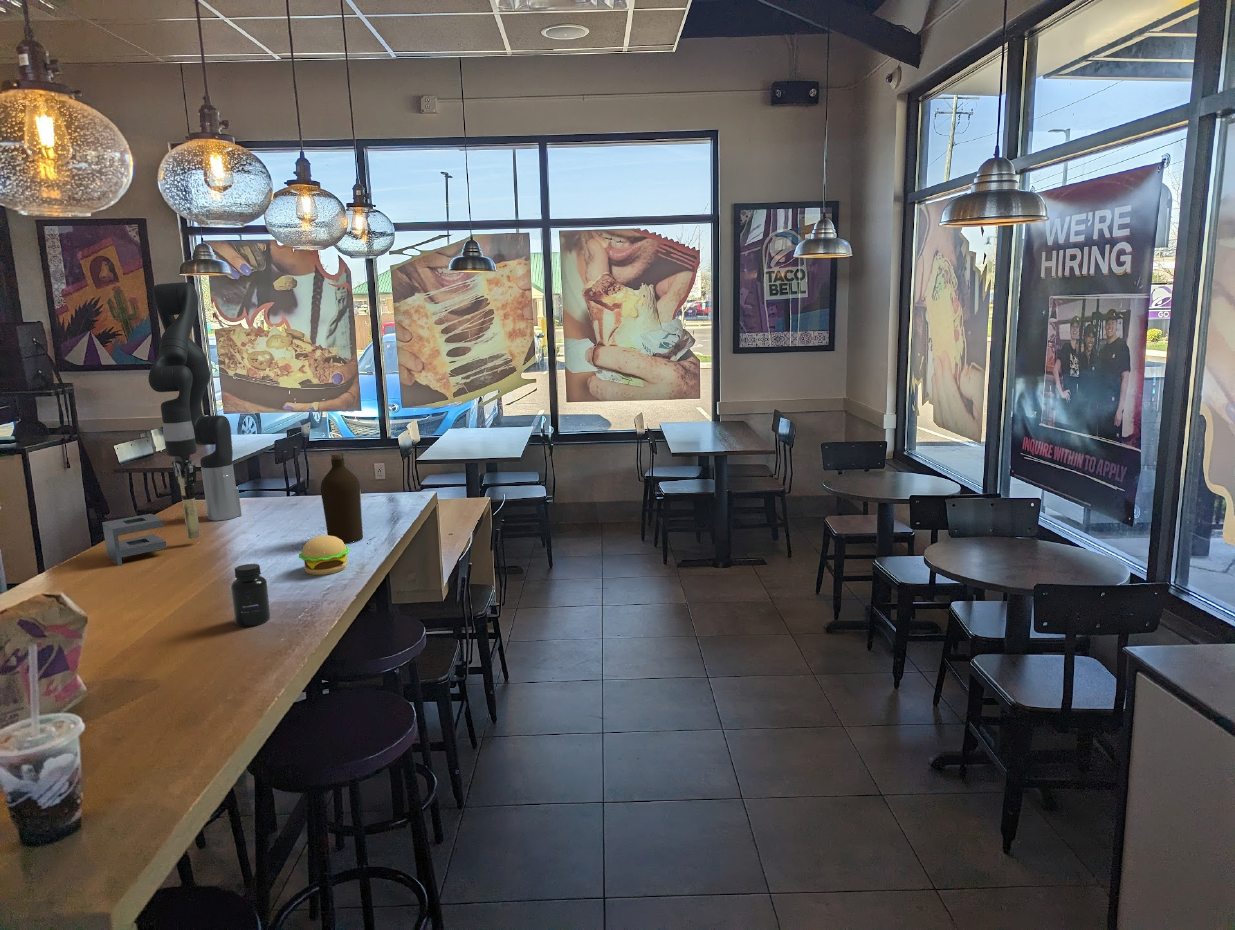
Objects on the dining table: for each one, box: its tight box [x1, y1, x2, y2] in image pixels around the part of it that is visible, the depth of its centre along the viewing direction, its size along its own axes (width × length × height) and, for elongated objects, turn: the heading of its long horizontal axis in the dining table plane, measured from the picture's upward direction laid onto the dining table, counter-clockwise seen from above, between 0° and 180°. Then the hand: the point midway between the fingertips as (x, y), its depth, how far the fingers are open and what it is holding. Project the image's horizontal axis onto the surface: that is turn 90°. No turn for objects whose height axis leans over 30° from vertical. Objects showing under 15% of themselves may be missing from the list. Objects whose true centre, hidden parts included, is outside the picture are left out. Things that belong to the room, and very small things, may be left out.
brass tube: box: [179, 476, 201, 540], centre depth 228 cm, size 3×3×18 cm
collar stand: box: [101, 513, 168, 566], centre depth 219 cm, size 12×11×10 cm
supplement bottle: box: [230, 563, 271, 628], centre depth 168 cm, size 7×7×12 cm
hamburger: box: [298, 534, 350, 576], centre depth 202 cm, size 12×12×9 cm
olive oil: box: [320, 452, 364, 544], centre depth 227 cm, size 11×11×25 cm
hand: (188, 497), depth 227 cm, fingers closed on brass tube, 3 cm apart
